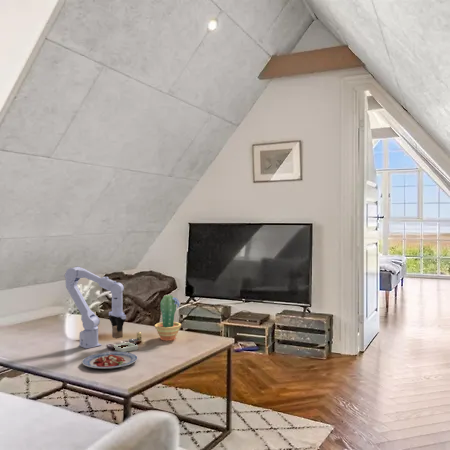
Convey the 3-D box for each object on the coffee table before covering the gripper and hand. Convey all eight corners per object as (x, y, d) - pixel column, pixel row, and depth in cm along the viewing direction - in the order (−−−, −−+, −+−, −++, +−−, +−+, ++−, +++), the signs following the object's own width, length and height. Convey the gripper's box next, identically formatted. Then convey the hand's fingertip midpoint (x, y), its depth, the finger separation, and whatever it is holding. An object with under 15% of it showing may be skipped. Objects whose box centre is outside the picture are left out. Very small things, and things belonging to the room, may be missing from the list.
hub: (130, 346, 257) (130, 343, 257) (125, 344, 261) (125, 342, 261) (137, 344, 261) (137, 342, 261) (132, 342, 265) (132, 340, 265)
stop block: (116, 338, 254) (116, 327, 254) (112, 337, 257) (112, 326, 257) (122, 337, 257) (122, 326, 257) (118, 335, 260) (118, 325, 260)
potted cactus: (168, 343, 263) (168, 298, 262) (148, 339, 272) (148, 295, 271) (187, 337, 275) (186, 294, 274) (167, 333, 284) (167, 292, 284)
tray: (122, 353, 244) (122, 348, 244) (113, 349, 251) (113, 345, 250) (138, 349, 250) (138, 345, 250) (128, 346, 257) (128, 342, 257)
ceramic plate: (72, 363, 227) (72, 357, 227) (119, 352, 245) (119, 347, 245) (99, 376, 209) (99, 369, 209) (148, 363, 227) (148, 357, 227)
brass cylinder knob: (130, 342, 259) (130, 335, 259) (127, 341, 261) (127, 334, 261) (142, 339, 264) (142, 332, 264) (139, 339, 266) (139, 331, 266)
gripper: (130, 306, 254) (131, 331, 255) (116, 302, 265) (116, 327, 265) (119, 308, 250) (119, 333, 250) (105, 304, 260) (105, 329, 260)
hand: (117, 330), depth 257 cm, fingers closed on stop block, 4 cm apart
